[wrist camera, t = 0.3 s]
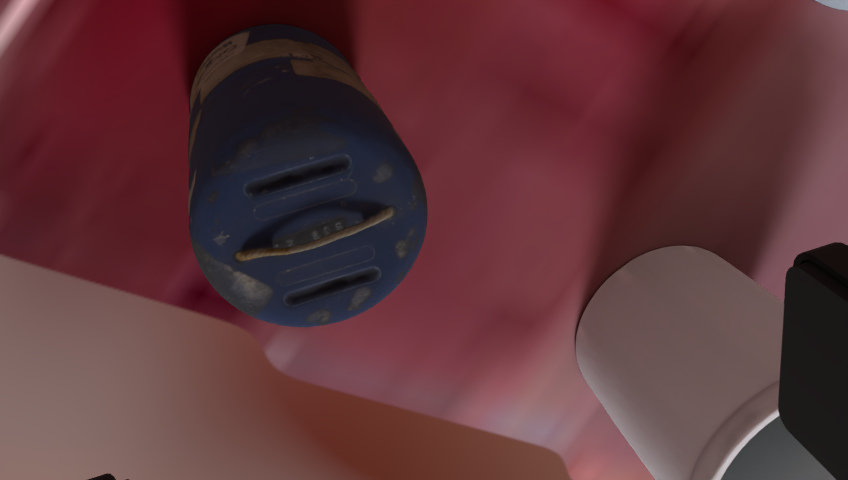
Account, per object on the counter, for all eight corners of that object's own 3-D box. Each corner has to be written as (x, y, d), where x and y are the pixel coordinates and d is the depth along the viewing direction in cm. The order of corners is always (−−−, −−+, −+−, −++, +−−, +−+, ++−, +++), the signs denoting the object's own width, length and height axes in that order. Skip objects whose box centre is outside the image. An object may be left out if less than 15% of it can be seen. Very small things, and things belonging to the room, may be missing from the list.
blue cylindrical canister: (356, 176, 48) (438, 341, 33) (194, 186, 46) (200, 368, 31) (358, 15, 44) (452, 119, 29) (179, 17, 42) (176, 130, 26)
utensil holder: (665, 197, 55) (845, 337, 40) (781, 291, 62) (971, 440, 47) (528, 354, 58) (648, 538, 43) (654, 426, 65) (794, 607, 50)
